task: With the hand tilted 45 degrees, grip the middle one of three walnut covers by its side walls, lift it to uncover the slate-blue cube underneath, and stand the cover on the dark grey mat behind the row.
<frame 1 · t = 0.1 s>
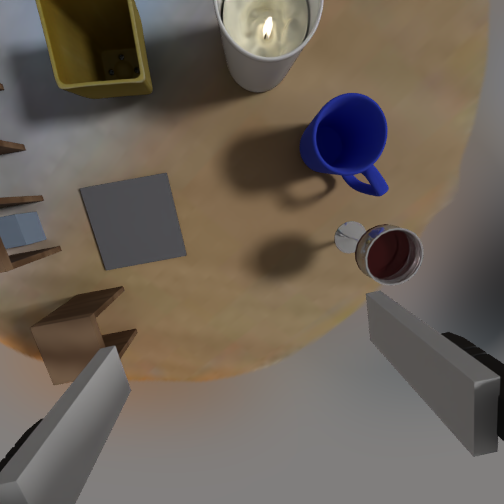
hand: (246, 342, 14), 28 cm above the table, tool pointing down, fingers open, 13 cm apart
mat: (136, 222, 40), on the table
cover middle: (27, 228, 39), on the table
mug: (329, 158, 40), on the table
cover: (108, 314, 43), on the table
candle holder: (257, 58, 36), on the table
cube: (27, 228, 39), on the table
flower pot: (126, 72, 36), on the table
wineglass: (350, 237, 43), on the table
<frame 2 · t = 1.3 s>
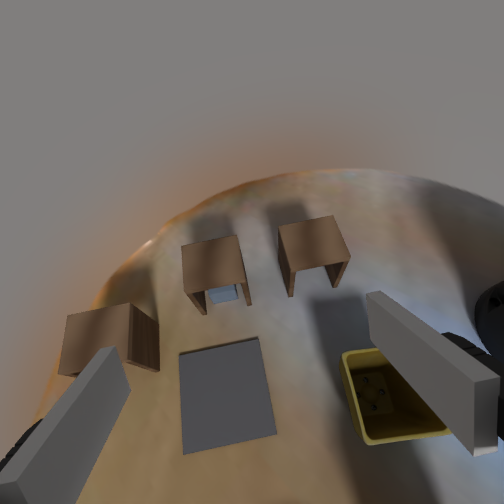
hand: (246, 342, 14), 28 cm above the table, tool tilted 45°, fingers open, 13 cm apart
mat: (224, 392, 38), on the table
cover middle: (224, 290, 46), on the table
cube: (224, 290, 46), on the table
flower pot: (369, 395, 37), on the table
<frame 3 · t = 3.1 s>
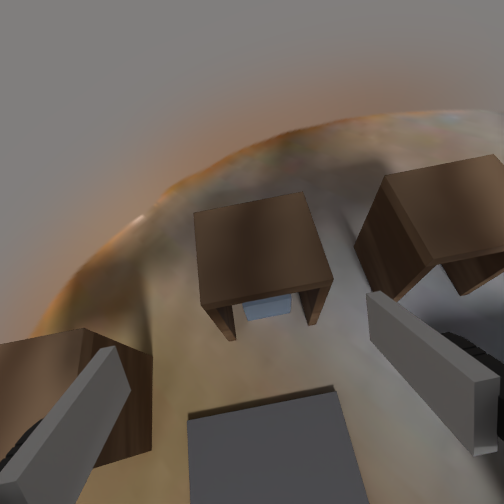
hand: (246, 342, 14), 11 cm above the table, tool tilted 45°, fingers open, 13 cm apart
mat: (278, 503, 19), on the table
cover middle: (265, 296, 27), on the table
cube: (265, 297, 27), on the table
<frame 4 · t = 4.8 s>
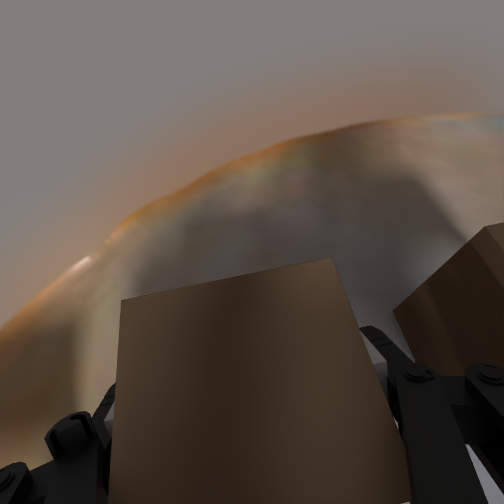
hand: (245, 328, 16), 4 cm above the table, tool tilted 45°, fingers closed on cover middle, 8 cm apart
cover middle: (261, 397, 17), on the table, touching gripper
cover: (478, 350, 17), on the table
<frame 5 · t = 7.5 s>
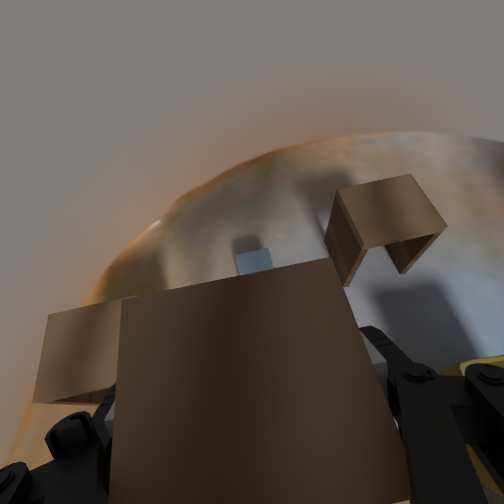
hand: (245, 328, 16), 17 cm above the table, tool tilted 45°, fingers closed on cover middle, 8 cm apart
cover middle: (260, 396, 17), point 13 cm above the table, touching gripper
cube: (257, 280, 36), on the table
flower pot: (472, 418, 26), on the table
when the fingers open (5 cm above the table, at t = 10.2 s): cover middle drops 1 cm, resting on mat.
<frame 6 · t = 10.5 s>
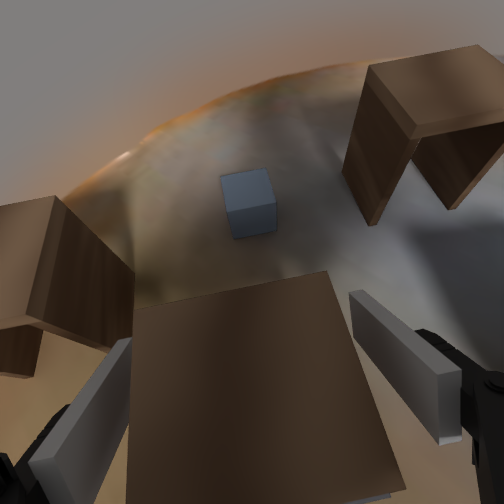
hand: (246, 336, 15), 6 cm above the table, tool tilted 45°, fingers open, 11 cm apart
mat: (262, 398, 18), on the table
cover middle: (261, 398, 18), resting on mat
cube: (251, 218, 26), on the table
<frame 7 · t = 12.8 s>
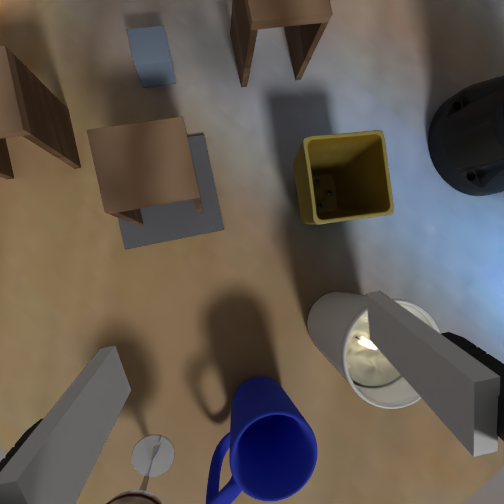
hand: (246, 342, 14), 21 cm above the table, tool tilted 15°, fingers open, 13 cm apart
mat: (165, 191, 34), on the table
cover middle: (165, 190, 34), resting on mat
mug: (246, 410, 35), on the table
candle holder: (335, 322, 37), on the table
cube: (156, 69, 34), on the table
flower pot: (316, 196, 37), on the table
wineglass: (153, 454, 33), on the table
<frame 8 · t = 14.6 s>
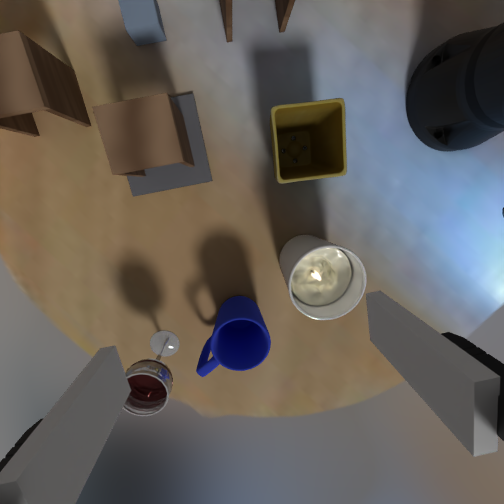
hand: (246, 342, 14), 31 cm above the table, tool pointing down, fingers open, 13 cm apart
mat: (162, 147, 40), on the table
cover middle: (161, 146, 40), resting on mat
mug: (230, 318, 48), on the table
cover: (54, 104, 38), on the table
candle holder: (303, 258, 46), on the table
cube: (147, 26, 37), on the table
flower pot: (294, 151, 42), on the table
wineglass: (165, 343, 48), on the table
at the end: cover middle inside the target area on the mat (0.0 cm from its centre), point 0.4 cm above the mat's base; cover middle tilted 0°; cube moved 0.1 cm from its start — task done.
